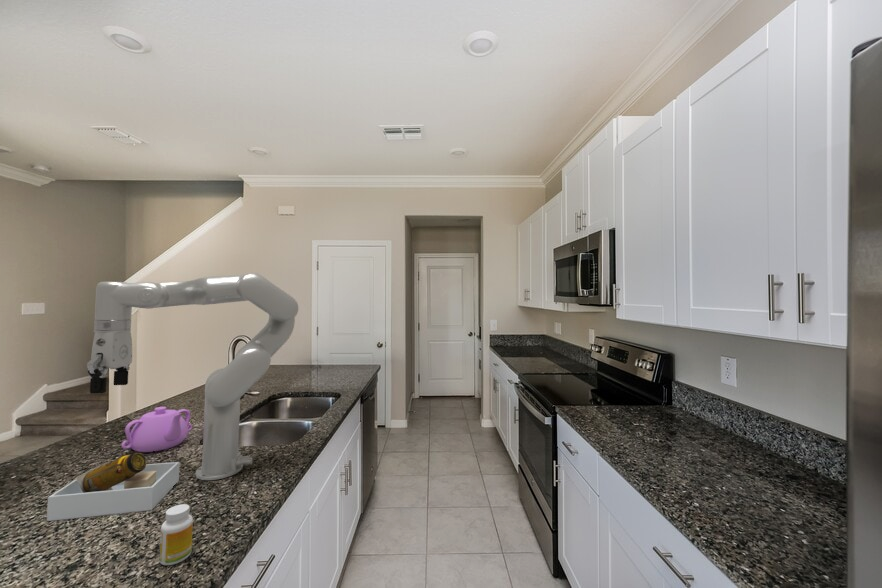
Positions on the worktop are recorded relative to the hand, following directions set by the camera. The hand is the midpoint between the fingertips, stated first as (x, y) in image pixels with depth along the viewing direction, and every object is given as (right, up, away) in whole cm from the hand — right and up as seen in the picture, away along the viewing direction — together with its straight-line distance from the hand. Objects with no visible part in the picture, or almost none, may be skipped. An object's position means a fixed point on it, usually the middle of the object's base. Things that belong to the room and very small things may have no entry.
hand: (109, 388), depth 98 cm
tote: (+6, -28, -3) cm, 29 cm away
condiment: (+1, -24, -5) cm, 24 cm away
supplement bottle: (+36, -29, -24) cm, 52 cm away
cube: (+10, -28, -2) cm, 30 cm away
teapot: (-10, -29, +31) cm, 44 cm away
